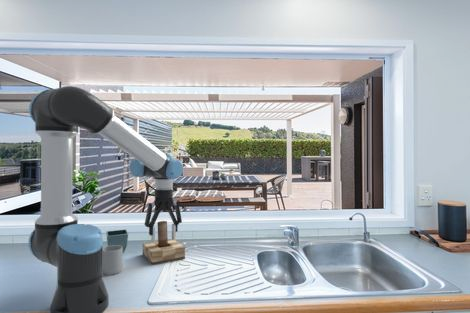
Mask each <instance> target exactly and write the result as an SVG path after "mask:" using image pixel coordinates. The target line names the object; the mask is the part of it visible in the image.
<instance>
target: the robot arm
mask: <svg viewBox="0 0 470 313" xmlns="http://www.w3.org/2000/svg"><path fill="white" fill-rule="evenodd" d="M28 111H29V112H28V113H29V115H30V118H31V119H32V121H33V122H34V124H35V126H34V127H35V131H34V132H35V134H37V135H38V136H39V137H40V139H41V140H40V143H41V145H40V146H41V147H40V148H41V149H40V151H41V152H40V156H41V157H40V159H41V160H40V161H41V162H40V164H41V165H40V216H39V217H37V219H35V220H34V228H33V231H32V232H31V233H30V235H29V238H28V248H29V251H30V253H31V254H32V256H34V257H35V258H36V259H37V260H39V261H41V262H43V263H47V264H50V265H51V266H53V267H56V268H57V269H56V270H57V273H56V274H57V276H56V277H57V283H56V284H57V286H56V289H55V291H54V295H53V297H52V300H51V304H50V307H49V310H50V311H49V313H103V312H104V311H106V309H107V308H108V307H109V301H110V300H109V293H108V290H107V288H106V285H105V283H104V279H103V273H102V249H103V245H104V240H103V232H102V230H101V229H100V228H99V227H97V226H96V225H93V224H85V223H78V217H77V216H76V215H75V214H74V213H73V159H74V158H73V154H74V148H73V147H74V138H75V137H76V136H77V135H78V134H79V128H82V129H84V130H86V131H88V132H89V133H91V134H93V135H97V134H98V135H100V136H101V137H103V138H104V139H106V141H109V142H110V143H111V144H113V145H114V146H116V147H118V148H119V149H120V150H122V151H124V152H125V153H126V154H128V155H129V156H130V157H131V158H133V159H132V160H131V161H130V163H129V172H130V175H131V176H132V177H134V178H154V188H155V189H154V200H153V202H147V203H146V204H147V209H146V210H147V211H146V217H145V220H144V226H145V227H147V228H148V234H149V236H150V237H151V238H150V240H151V241H150V242H152V243H155V241H156V228H155V224H156V222H157V219H158V217H159V216H160V215H159V214H160V213H161V212H164V211H167V212H168V215H169V216H170V219H171V220H172V222H173V223H172V224H171V239H173V240H176V237H177V236H176V234H177V232H178V226H179V224H181V223H183V222H182V221H183V219H182V215H181V209H180V205H181V204H180V200H174V199H173V197H174V191H173V190H174V189H173V186H174V183H173V182H174V180H177V179H179V178H180V177H181V176H182V175H183V171H184V164H183V162H182V161H181V160H180V159H177V158H173V157H174V156H173V154H172V153H171V152H163V151H162V150H160V149H159V148H158V147H157V146H155V145H154V144H153V143H151V142H150V141H149V140H147V139H146V138H145V137H144V136H142V135H141V134H140V133H138V132H137V131H136V130H135V129H133V128H132V127H131V126H129V125H128V124H127V123H126V122H124V121H123V120H122V119H120V118H119V117H118V116H117V115H116V114H115V111H114V109H113V108H112V107H110V106H109V105H108V104H107V103H106V102H104V101H103V100H101V99H100V98H99V97H97V96H96V95H94V94H93V93H91V92H89V91H87V90H86V89H83V88H81V87H78V86H73V85H71V86H70V85H68V86H67V85H66V86H61V87H58V88H49V89H46V90H42V91H41V92H39V93H37V94H36V95H34V96H33V97H32V99H31V101H30V103H29V106H28ZM154 206H155V209H154V213H153V215H152V212H153V208H154ZM172 206H174V210H175V213H174V212H173V209H172ZM175 214H176V215H175ZM176 241H177V240H176Z"/></svg>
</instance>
